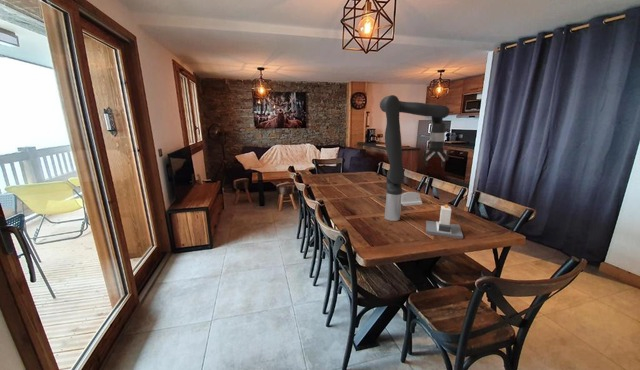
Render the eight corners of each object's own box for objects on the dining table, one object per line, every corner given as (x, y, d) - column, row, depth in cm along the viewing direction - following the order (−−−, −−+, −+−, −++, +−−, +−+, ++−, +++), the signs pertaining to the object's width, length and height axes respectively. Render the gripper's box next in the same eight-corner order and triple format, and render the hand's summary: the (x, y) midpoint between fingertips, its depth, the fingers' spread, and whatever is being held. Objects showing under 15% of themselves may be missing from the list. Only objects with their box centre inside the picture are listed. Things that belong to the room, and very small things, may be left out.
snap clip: (438, 230, 137) (439, 225, 136) (438, 228, 139) (439, 223, 138) (450, 232, 135) (450, 227, 134) (449, 230, 137) (450, 225, 136)
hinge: (402, 206, 184) (401, 192, 184) (399, 206, 188) (398, 192, 189) (422, 204, 187) (421, 190, 188) (419, 204, 192) (417, 191, 192)
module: (439, 229, 139) (442, 206, 135) (438, 225, 144) (441, 202, 141) (448, 230, 137) (451, 207, 134) (447, 226, 143) (450, 203, 139)
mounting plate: (426, 233, 139) (426, 229, 138) (426, 222, 153) (426, 219, 153) (462, 238, 132) (463, 235, 132) (459, 227, 147) (459, 223, 146)
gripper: (424, 140, 150) (422, 167, 154) (451, 141, 145) (447, 168, 149) (424, 139, 157) (422, 165, 161) (449, 140, 152) (446, 166, 156)
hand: (434, 166), depth 155 cm, fingers open, 8 cm apart
